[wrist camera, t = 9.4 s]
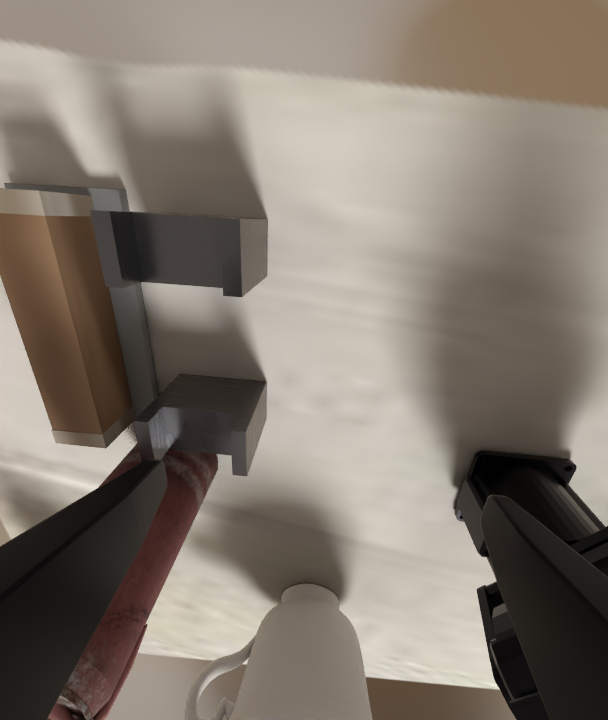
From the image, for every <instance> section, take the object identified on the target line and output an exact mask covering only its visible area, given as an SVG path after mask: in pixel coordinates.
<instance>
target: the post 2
mask: <svg viewBox="0 0 608 720" xmlns="http://www.w3.org/2000/svg"><path fill="white" fill-rule="evenodd" d="M266 401H267V382H263V381H252V380H241V379H230V378H219V377H208V376H196V375H185V374H180V375H179V376H178V377H177V378H176V379H175V380H174V381H173V382H172V383H171V384H170V385H169V386H168V387H167V388H166V389H165V390H164V391H163V392H162V393H161V394H160V395H159V396H158V397H157V398H156V399H155V400H154V401H153V402H152V403H151V404H150V405H149V406H148V407H147V408H146V409H145V410H144V411H143V412H142V413H141V414H140V415H139V416H138V417H137V418H136V419H135V420H134V421H133V422H134V427H135V432H136V437H137V442H138V447H139V452H140V456H141V461H142V462H143V461H144V460H146V459H159V460H161V459H162V458H163V456H164V455H165V453H166V452H167V451H168V449H176V450H185V451H195V452H204V453H214V454H224V455H232V470H233V475H239V476H247V475H248V472H249V469H250V466H251V463H252V460H253V457H254V454H255V451H256V448H257V445H258V442H259V439H260V436H261V433H262V430H263V427H264V424H265V421H266Z"/></svg>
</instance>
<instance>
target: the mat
mask: <svg viewBox="0 0 608 720" xmlns="http://www.w3.org/2000/svg"><path fill="white" fill-rule="evenodd" d="M4 184H5V188H6V189H18V190H36V191H47V192H58V193H68V194H78V195H88V196H92V200H93V205H94V210H102V211H127V212H129V208H128V202H127V196H126V191H125V190H117V189H100V188H82V187H65V186H47V185H29V184H12V183H4ZM109 291H110V296H111V301H112V306H113V311H114V316H115V321H116V326H117V331H118V336H119V340H120V345H121V350H122V355H123V360H124V365H125V370H126V375H127V380H128V385H129V390H130V395H131V400H132V404H133V406H134V409H135V414H136V418H137V417H138V416H139V415H140V414H141V413H142V412H143V411H144V410H145V409H146V408H147V407H148V406H149V405H150V404H151V403H152V402H153V401H154V400H155V399H156V398H157V397H158V390H157V384H156V378H155V371H154V365H153V359H152V353H151V346H150V340H149V334H148V327H147V321H146V315H145V309H144V302H143V296H142V290H141V283H138V284H135V285H132V286H128V287H125V288H115V287H109Z"/></svg>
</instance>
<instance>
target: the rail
mask: <svg viewBox="0 0 608 720" xmlns="http://www.w3.org/2000/svg"><path fill="white" fill-rule="evenodd" d="M90 210H94V205H93V200H92V196H88V195H78V194H68V193H58V192H47V191H36V190H18V189H1V188H0V276H1V279H2V282H3V284H4V287H5V290H6V293H7V296H8V299H9V302H10V305H11V308H12V311H13V314H14V317H15V320H16V323H17V326H18V329H19V332H20V334H21V337H22V340H23V343H24V346H25V349H26V352H27V355H28V358H29V361H30V364H31V367H32V370H33V373H34V376H35V379H36V382H37V384H38V387H39V390H40V393H41V396H42V399H43V402H44V405H45V408H46V411H47V414H48V417H49V420H50V423H51V426H52V433H53V436H54V439H55V442H56V443H61V444H70V445H80V446H89V447H99V448H107V447H108V446H109V445H110V444H111V443H112V442H113V441H114V440H115V439H116V438H117V437H118V436H119V435H120V434H121V433H122V432H123V431H124V430H125V429H126V428H127V427H128V426H129V425H130V424H131V423H132V422H133V421H134V420H135V419H136V414H135V409H134V406H133V404H132V400H131V395H130V390H129V385H128V380H127V375H126V370H125V365H124V360H123V355H122V350H121V345H120V340H119V336H118V331H117V326H116V321H115V316H114V311H113V306H112V301H111V296H110V291H109V287H106V286H105V281H104V276H103V272H102V267H101V262H100V257H99V252H98V247H97V242H96V238H95V233H94V228H93V223H92V218H91V213H90Z"/></svg>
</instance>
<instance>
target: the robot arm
mask: <svg viewBox="0 0 608 720" xmlns="http://www.w3.org/2000/svg"><path fill="white" fill-rule="evenodd" d="M482 458H484V459H482ZM576 468H577V467H576V465H575V464H574V463H573V462H572V461H571V460H569V459H562V458H552V457H542V456H532V455H522V454H512V453H502V452H492V451H479V452H477V453H476V454H475V456H474V459H473V462H472V465H471V467H470V470H469V473H468V476H467V477H466V478H465V480H464V483H463V486H462V488H461V491H460V494H459V497H458V500H457V507H456V509H455V516H456V518H457V520H459V521H462V522H465V524H466V526H467V529H468V531H469V533H470V535H471V538H472V540H473V542H474V545H475V547H476V549H477V552H478V553H479V554H480V555H481V556H482V557H487V559H488V561H489V563H490V566H491V568H492V570H493V572H494V574H495V577H496V580H497V581H496V582H494V583H492V584H490V585H488V586H486V585H484V586H482V587H480V588H478V589H477V594H478V599H479V605H480V610H481V615H482V620H483V626H484V631H485V636H486V642H487V647H488V652H489V657H490V662H491V666H492V672H493V676H494V679H495V682H496V684H497V685H498V687H499V688H500V690H501V692H502V694H503V696H504V698H505V700H506V702H507V704H508V706H509V708H510V710H511V711H512V713H513V714H514V716H515V718H516V719H517V720H608V526H607V527H605V526H604V525H603V523H602V522H601V521H600V520H599V519H598V518H597V517H596V516H595V514H594V513H593V512H592V511H591V510H590V509H589V508H588V506H587V505H586V504H585V503H584V502H583V501H582V500H581V499H580V497H579V496H578V495H577V494H576V493H575V492H574V491H573V490H572V488H571V487H570V486H569V485H568V483H569V482H570V480H571V478H572V476H573V474H574V472H575V471H576ZM166 487H167V477H166V472H165V466H164V462H163V461H162V460H159V459H146V460H144V461H143V462H141V463H139V464H138V465H136V466H134V467H133V468H131V469H129V470H128V471H126V472H124V473H123V474H121V475H119V476H118V477H116V478H114V479H112V480H111V481H109V482H107V483H106V484H104V485H102V486H101V487H99V488H97V489H96V490H94V491H92V492H91V493H89V494H87V495H86V496H84V497H82V498H81V499H79V500H77V501H76V502H74V503H72V504H70V505H69V506H67V507H65V508H64V509H62V510H60V511H59V512H57V513H55V514H54V515H52V516H50V517H49V518H47V519H45V520H44V521H42V522H40V523H39V524H37V525H35V526H34V527H32V528H30V529H28V530H27V531H25V532H23V533H22V534H20V535H18V536H17V537H15V538H13V539H12V540H10V541H8V542H7V543H5V544H3V545H2V546H0V720H47V718H48V717H49V715H50V713H51V711H52V709H53V707H54V706H55V704H56V702H57V700H58V698H59V696H60V695H61V693H62V691H63V689H64V687H65V685H66V684H67V682H68V680H69V678H70V676H71V674H72V673H73V671H74V669H75V667H76V665H77V663H78V662H79V660H80V658H81V656H82V654H83V652H84V651H85V649H86V647H87V645H88V643H89V641H90V640H91V638H92V636H93V634H94V632H95V630H96V629H97V627H98V625H99V623H100V621H101V619H102V618H103V616H104V614H105V612H106V610H107V608H108V607H109V605H110V603H111V601H112V599H113V597H114V596H115V594H116V592H117V590H118V588H119V586H120V585H121V583H122V581H123V579H124V577H125V575H126V574H127V572H128V570H129V568H130V566H131V564H132V563H133V561H134V559H135V557H136V555H137V553H138V551H139V550H140V548H141V546H142V544H143V542H144V539H145V537H146V535H147V533H148V530H149V528H150V526H151V523H152V521H153V519H154V516H155V514H156V512H157V509H158V507H159V505H160V502H161V500H162V498H163V495H164V493H165V490H166Z"/></svg>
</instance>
